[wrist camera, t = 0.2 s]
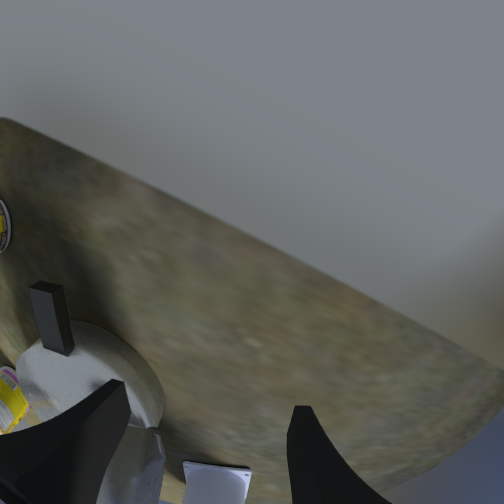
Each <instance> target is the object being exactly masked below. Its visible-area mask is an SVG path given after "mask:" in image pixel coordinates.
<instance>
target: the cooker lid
mask: <svg viewBox="0 0 504 504" xmlns="http://www.w3.org/2000/svg"><path fill="white" fill-rule="evenodd" d="M166 460H167V458H166V454H165V450H164V446H163V441H162V437H161V432H160V430H159V429H158V428H156V427H148V428H146V429H144V428H142V427H139V426H137V425H134V424H131V423H128V425H127V428H126V431H125V433H124V435H123V437H122V439H121V441H120V443H119V445H118V447H117V449H116V451H115V453H114V455H113V457H112V459H111V461H110V463H109V465H108V467H107V470H106V472H105V475H104V478H103V481H102V484H101V487H100V491H99V494H98V498H97V502H96V504H157V503H158V500H159V496H160V492H161V487H162V480H163V470H164V463H165V462H166Z"/></svg>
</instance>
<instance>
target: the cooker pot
mask: <svg viewBox="0 0 504 504" xmlns="http://www.w3.org/2000/svg"><path fill="white" fill-rule="evenodd" d="M29 292H30V297H31V302H32V306H33V311H34V315H35V319H36V323H37V327H38V330H39V334H40V338H39V339H38V340H37V341H36V342H35V343H34V344H33V345H32V346H30V347H29V348H28V349H27V350H26V351H25V352H24V353H23V354H22V355H21V356H20V357H19V358H18V360H17V363H16V376H17V380H18V384H19V386H20V389H21V391H22V393H23V395H24V397H25V399H26V401H27V402H28V404H29V405H30V407H31V408H32V409H33V411H34V412H35V413H36V415H37V416H38V417H39V418H40V419H41V420H42V422H45V421H47V420H50V419H52V418H54V417H56V416H58V415H59V414H61V413H63V412H64V411H66V410H68V409H69V408H71V407H73V406H74V405H76V404H77V403H79V402H80V401H81V400H83V399H84V398H86V397H87V396H89V395H90V394H91V393H93V392H94V391H95V390H97V389H98V388H100V387H101V386H102V385H104V384H105V383H106V382H108V381H109V380H111V379H116V380H120V381H124V383H125V388H126V392H127V396H128V400H129V404H130V408H131V411H132V413H131V416H130V419H129V422H128V423H131V424H134V425H137V426H139V427H142V428H144V429H146V428H148V427H156V428H158V425H159V423H160V420H161V417H162V415H163V412H164V409H165V396H164V392H163V389H162V386H161V384H160V382H159V380H158V378H157V376H156V375H155V373H154V372H153V370H152V369H151V368H150V366H149V365H148V364H147V363H146V361H145V360H144V359H143V358H142V357H141V356H140V355H139V354H138V353H137V352H136V351H135V350H134V349H133V348H132V347H130V346H129V345H128V344H127V343H125V342H124V341H123V340H122V339H120V338H119V337H117V336H116V335H114V334H113V333H111V332H109V331H107V330H105V329H104V328H101V327H99V326H97V325H94V324H92V323H88V322H85V321H80V320H69V317H68V311H67V306H66V301H65V295H64V289H63V286H62V285H58V284H53V283H49V282H44V281H39V282H37V283H35V284H34V285H32V286H30V287H29Z"/></svg>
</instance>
